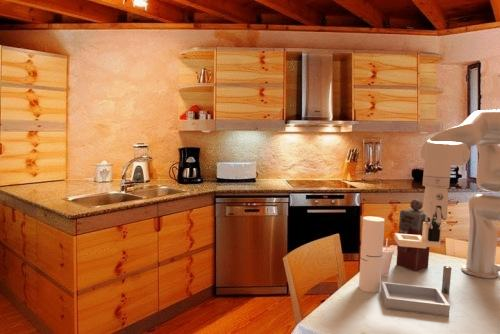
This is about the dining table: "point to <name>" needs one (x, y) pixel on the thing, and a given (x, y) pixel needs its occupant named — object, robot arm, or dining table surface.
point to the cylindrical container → (371, 253)
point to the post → (446, 279)
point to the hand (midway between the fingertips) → (431, 238)
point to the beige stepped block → (417, 239)
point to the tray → (414, 299)
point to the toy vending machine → (412, 225)
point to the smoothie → (386, 259)
